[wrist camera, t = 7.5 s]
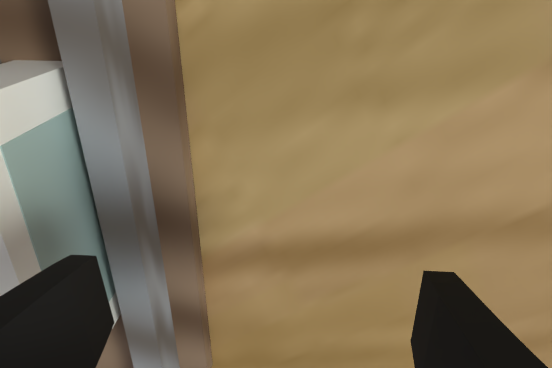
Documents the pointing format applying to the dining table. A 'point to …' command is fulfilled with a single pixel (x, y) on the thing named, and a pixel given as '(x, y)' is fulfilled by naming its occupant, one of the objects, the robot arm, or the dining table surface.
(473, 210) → the dining table surface
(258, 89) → the dining table surface
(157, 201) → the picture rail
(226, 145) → the dining table surface
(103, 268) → the tall cream box
